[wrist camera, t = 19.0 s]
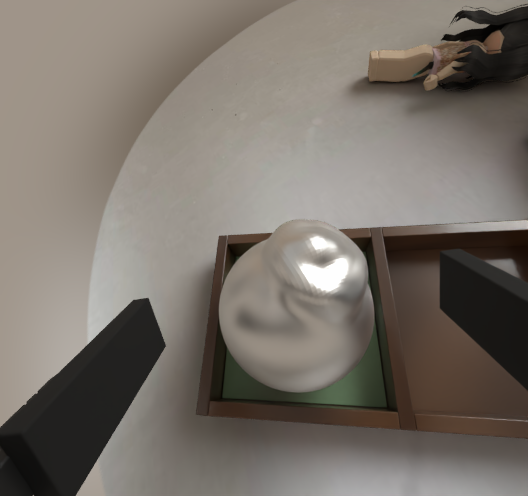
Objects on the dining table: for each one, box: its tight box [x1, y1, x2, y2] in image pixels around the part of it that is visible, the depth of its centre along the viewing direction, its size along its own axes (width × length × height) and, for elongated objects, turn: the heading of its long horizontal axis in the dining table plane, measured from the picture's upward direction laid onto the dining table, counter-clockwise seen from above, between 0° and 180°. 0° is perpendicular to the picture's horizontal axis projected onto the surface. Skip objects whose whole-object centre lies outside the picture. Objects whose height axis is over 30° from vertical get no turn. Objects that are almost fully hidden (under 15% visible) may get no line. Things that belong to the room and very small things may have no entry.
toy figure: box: [368, 4, 528, 91], centre depth 27 cm, size 7×6×15 cm
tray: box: [196, 220, 528, 439], centre depth 18 cm, size 24×12×3 cm, turn 88°
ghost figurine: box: [219, 219, 374, 393], centre depth 16 cm, size 9×10×10 cm
